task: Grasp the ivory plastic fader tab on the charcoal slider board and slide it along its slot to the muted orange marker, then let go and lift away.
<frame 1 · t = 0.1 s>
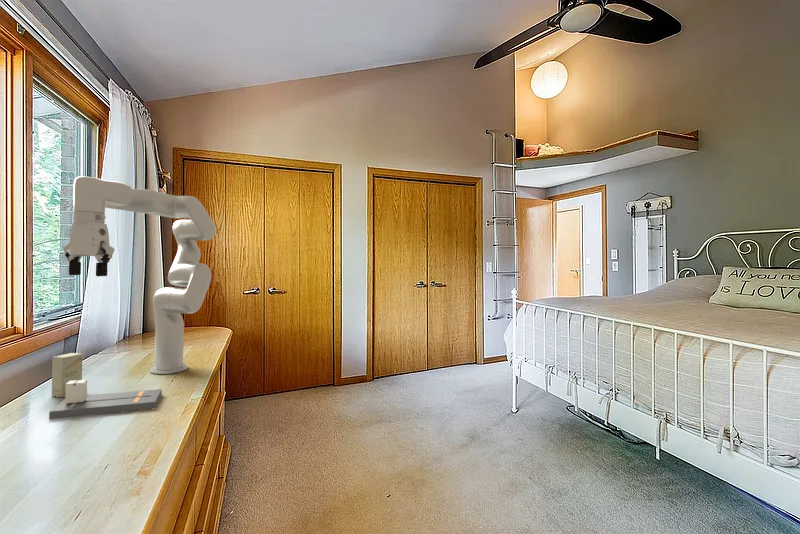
hand: (88, 275, 121), 37 cm above the dresser top, tool pointing down, fingers open, 9 cm apart
skincare box: (67, 394, 125), on the dresser top
fader board: (110, 406, 116), on the dresser top
fader tab: (76, 391, 113), point 5 cm above the dresser top, slide at -8.0 cm
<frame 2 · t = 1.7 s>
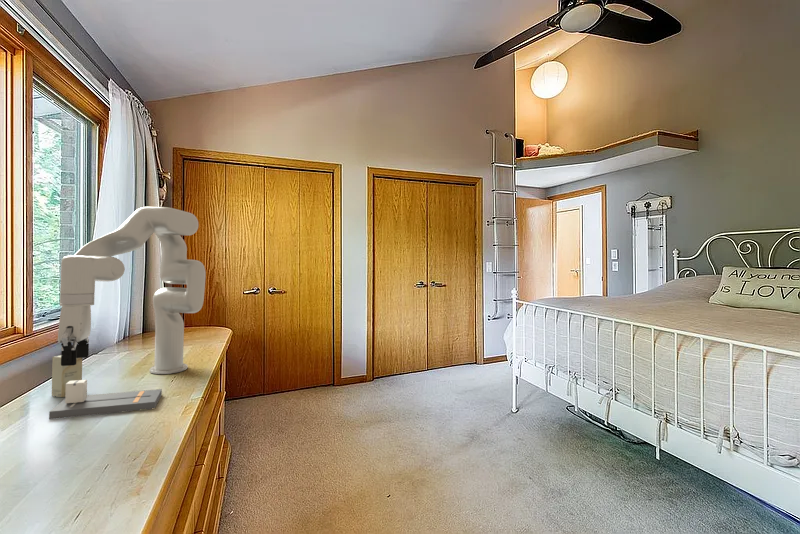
hand: (75, 361, 112), 14 cm above the dresser top, tool pointing down, fingers open, 9 cm apart
nothing on the dresser top moved.
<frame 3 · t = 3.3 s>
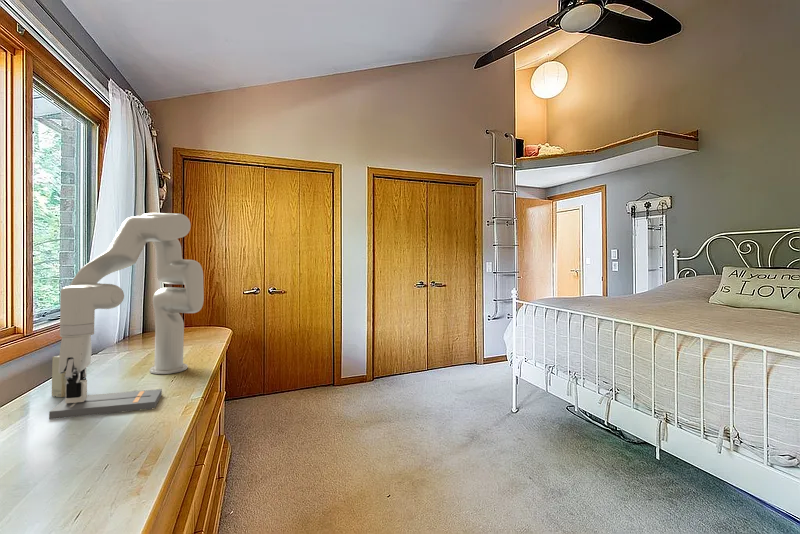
hand: (76, 394, 113), 4 cm above the dresser top, tool pointing down, fingers closed on fader tab, 3 cm apart
fader tab: (76, 391, 113), point 5 cm above the dresser top, slide at -8.0 cm, touching gripper
everything else where it was.
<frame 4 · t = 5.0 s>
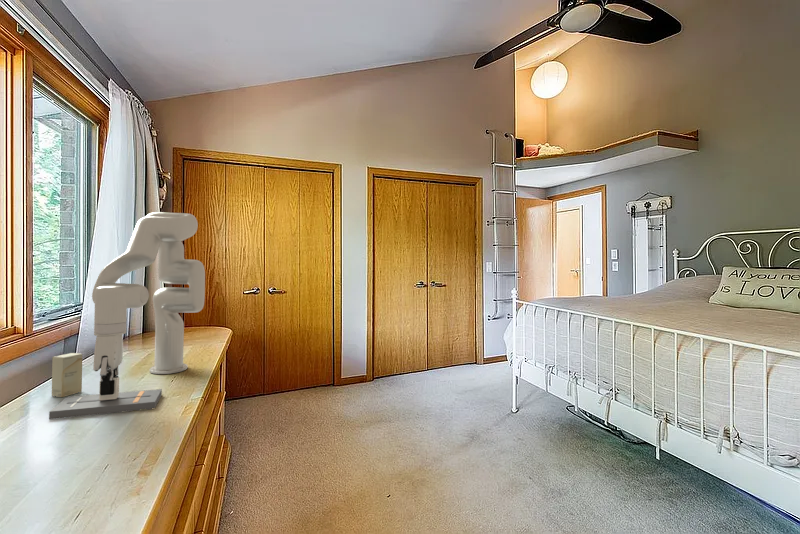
hand: (109, 391, 116), 4 cm above the dresser top, tool pointing down, fingers closed on fader tab, 3 cm apart
fader tab: (109, 388, 116), point 5 cm above the dresser top, slide at -0.3 cm, touching gripper
everything else where it was.
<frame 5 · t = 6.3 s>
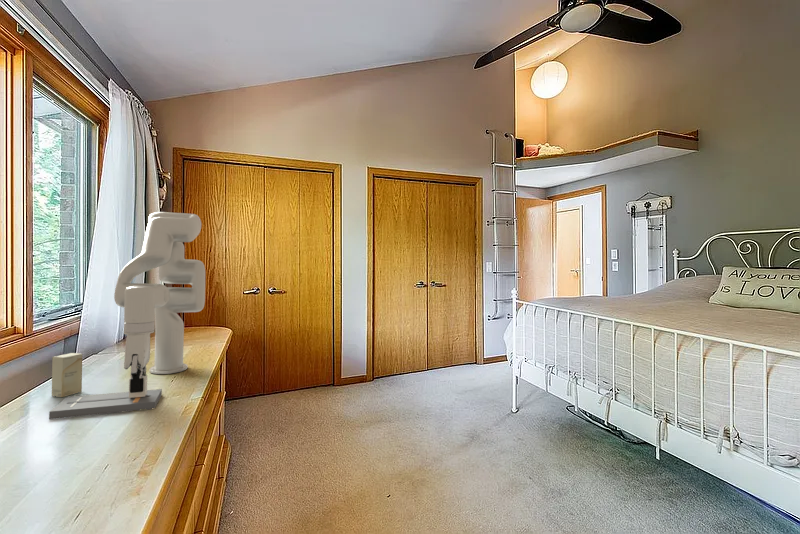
hand: (138, 389, 119), 4 cm above the dresser top, tool pointing down, fingers closed on fader tab, 3 cm apart
fader tab: (138, 386, 119), point 5 cm above the dresser top, slide at 6.8 cm, touching gripper
everything else where it was.
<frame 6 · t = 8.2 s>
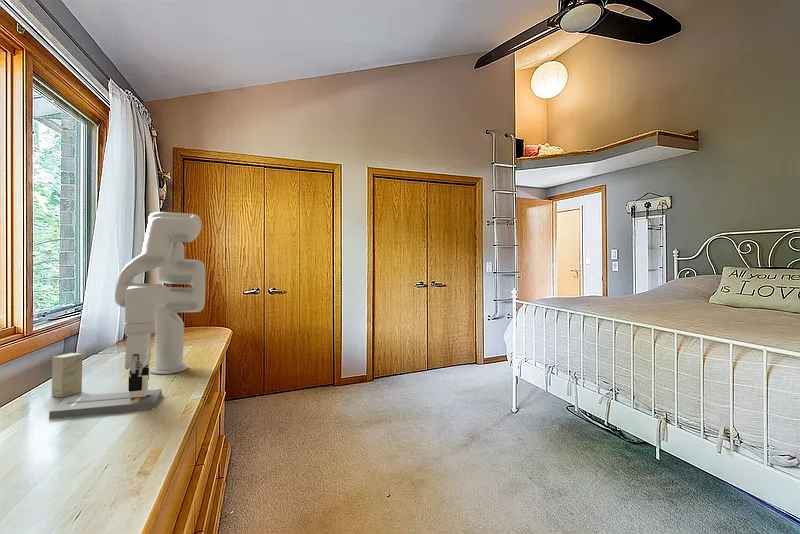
hand: (139, 385, 119), 5 cm above the dresser top, tool pointing down, fingers open, 9 cm apart
fader tab: (139, 386, 119), point 5 cm above the dresser top, slide at 7.0 cm
everything else where it was.
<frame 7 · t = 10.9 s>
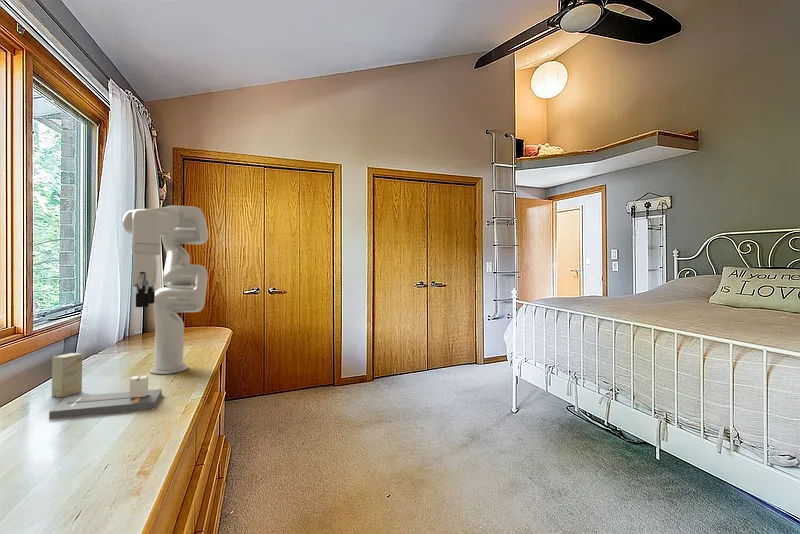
hand: (145, 305, 125), 28 cm above the dresser top, tool pointing down, fingers open, 9 cm apart
nothing on the dresser top moved.
at the end: fader tab slide at 7.0 cm; the gripper is holding nothing; skincare box moved 0.2 cm from its start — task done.
